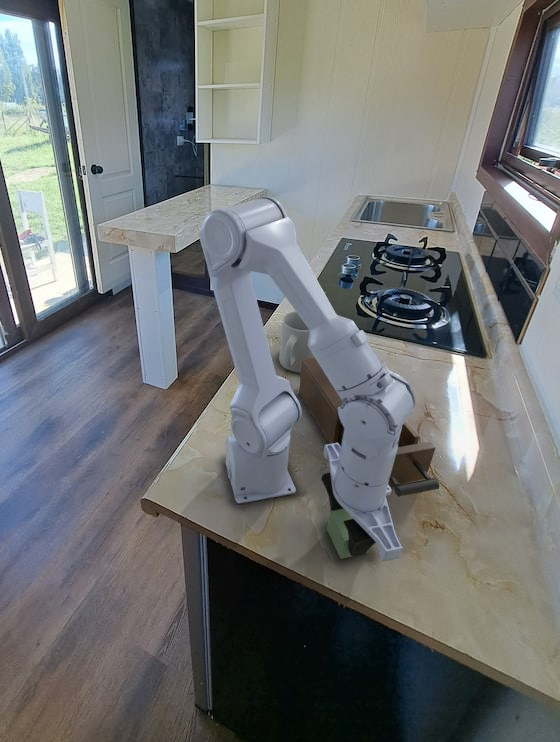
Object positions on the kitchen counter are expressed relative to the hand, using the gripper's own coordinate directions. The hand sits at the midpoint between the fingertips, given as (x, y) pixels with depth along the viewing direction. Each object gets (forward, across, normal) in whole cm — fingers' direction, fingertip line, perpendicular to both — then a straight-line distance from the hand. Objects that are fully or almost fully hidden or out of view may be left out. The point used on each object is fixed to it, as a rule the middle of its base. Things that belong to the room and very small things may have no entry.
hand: (348, 534), depth 52 cm
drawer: (+1, +11, -11) cm, 15 cm away
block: (+1, 0, 0) cm, 1 cm away
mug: (+2, +38, -8) cm, 39 cm away
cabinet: (+2, +22, -11) cm, 25 cm away
